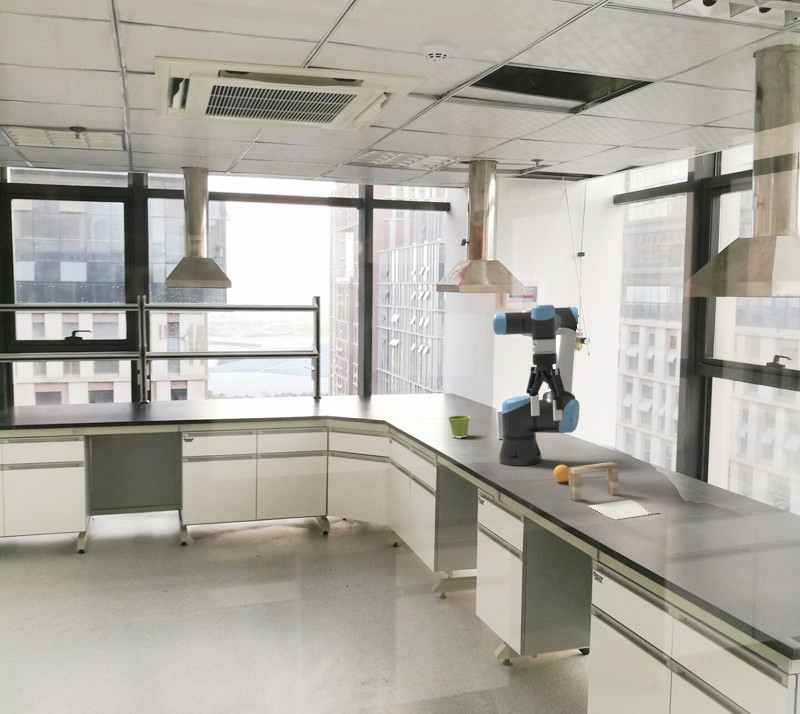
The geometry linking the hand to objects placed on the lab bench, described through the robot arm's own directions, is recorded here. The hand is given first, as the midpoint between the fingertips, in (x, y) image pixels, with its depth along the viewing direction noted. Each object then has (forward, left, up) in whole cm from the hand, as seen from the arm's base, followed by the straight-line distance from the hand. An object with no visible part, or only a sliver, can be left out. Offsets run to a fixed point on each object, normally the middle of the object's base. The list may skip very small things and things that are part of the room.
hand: (546, 417), depth 245 cm
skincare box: (-65, +14, -20) cm, 70 cm away
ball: (+8, +1, -17) cm, 19 cm away
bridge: (+27, +1, -20) cm, 33 cm away
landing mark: (+42, +1, -20) cm, 46 cm away
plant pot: (-78, -1, -20) cm, 81 cm away
